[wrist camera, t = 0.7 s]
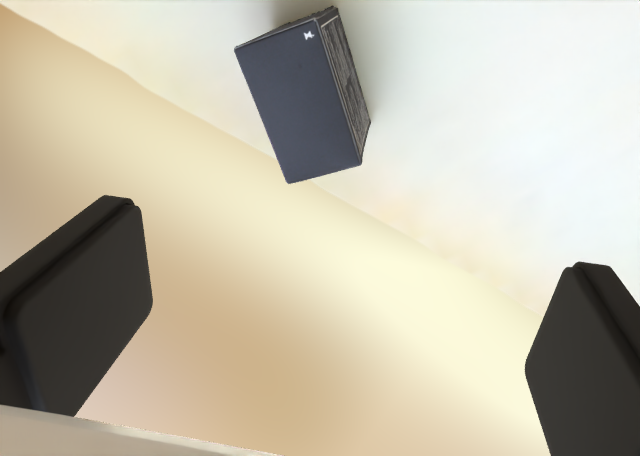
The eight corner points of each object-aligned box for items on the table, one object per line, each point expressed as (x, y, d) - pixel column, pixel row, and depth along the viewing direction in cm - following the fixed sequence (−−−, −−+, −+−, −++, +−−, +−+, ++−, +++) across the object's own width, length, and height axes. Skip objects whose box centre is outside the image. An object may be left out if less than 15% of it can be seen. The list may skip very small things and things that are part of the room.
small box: (266, 30, 39) (226, 46, 30) (337, 3, 38) (318, 11, 29) (307, 144, 44) (283, 187, 35) (372, 124, 42) (366, 165, 33)
